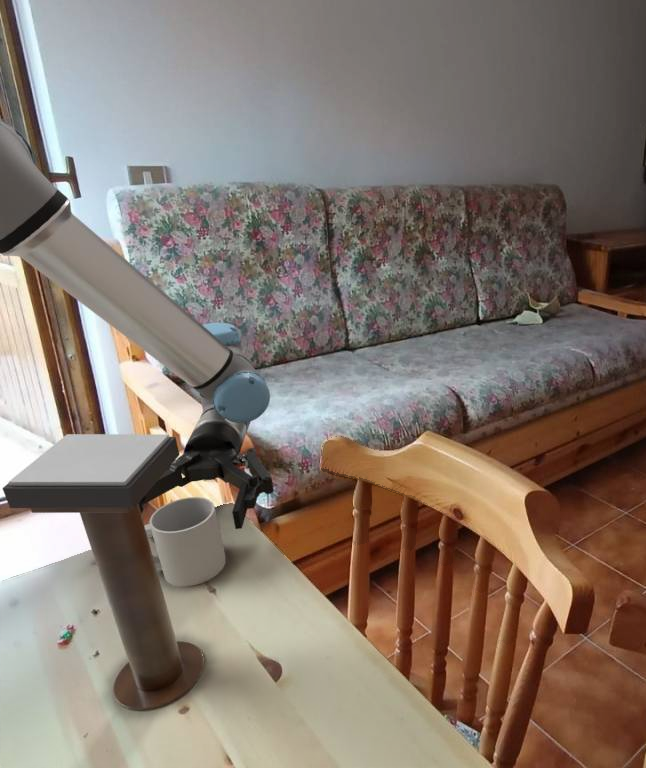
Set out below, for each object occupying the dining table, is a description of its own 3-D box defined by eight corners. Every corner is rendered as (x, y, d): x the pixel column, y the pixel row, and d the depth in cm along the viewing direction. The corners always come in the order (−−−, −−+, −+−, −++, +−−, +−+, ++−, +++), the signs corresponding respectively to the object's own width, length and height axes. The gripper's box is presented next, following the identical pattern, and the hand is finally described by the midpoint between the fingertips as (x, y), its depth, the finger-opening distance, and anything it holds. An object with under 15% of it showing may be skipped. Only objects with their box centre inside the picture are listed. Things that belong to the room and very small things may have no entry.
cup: (222, 585, 78) (209, 528, 75) (133, 599, 76) (115, 540, 72) (230, 548, 85) (218, 493, 81) (149, 560, 82) (133, 504, 79)
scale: (6, 508, 51) (-4, 483, 50) (68, 454, 59) (61, 432, 58) (134, 508, 52) (127, 483, 51) (179, 454, 59) (174, 432, 58)
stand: (98, 716, 62) (19, 508, 51) (141, 648, 70) (80, 454, 59) (184, 715, 62) (124, 508, 52) (218, 647, 70) (171, 454, 59)
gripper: (302, 455, 102) (286, 538, 84) (134, 469, 98) (78, 561, 79) (296, 415, 99) (279, 491, 80) (123, 427, 95) (62, 512, 76)
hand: (179, 526), depth 80 cm, fingers open, 13 cm apart
